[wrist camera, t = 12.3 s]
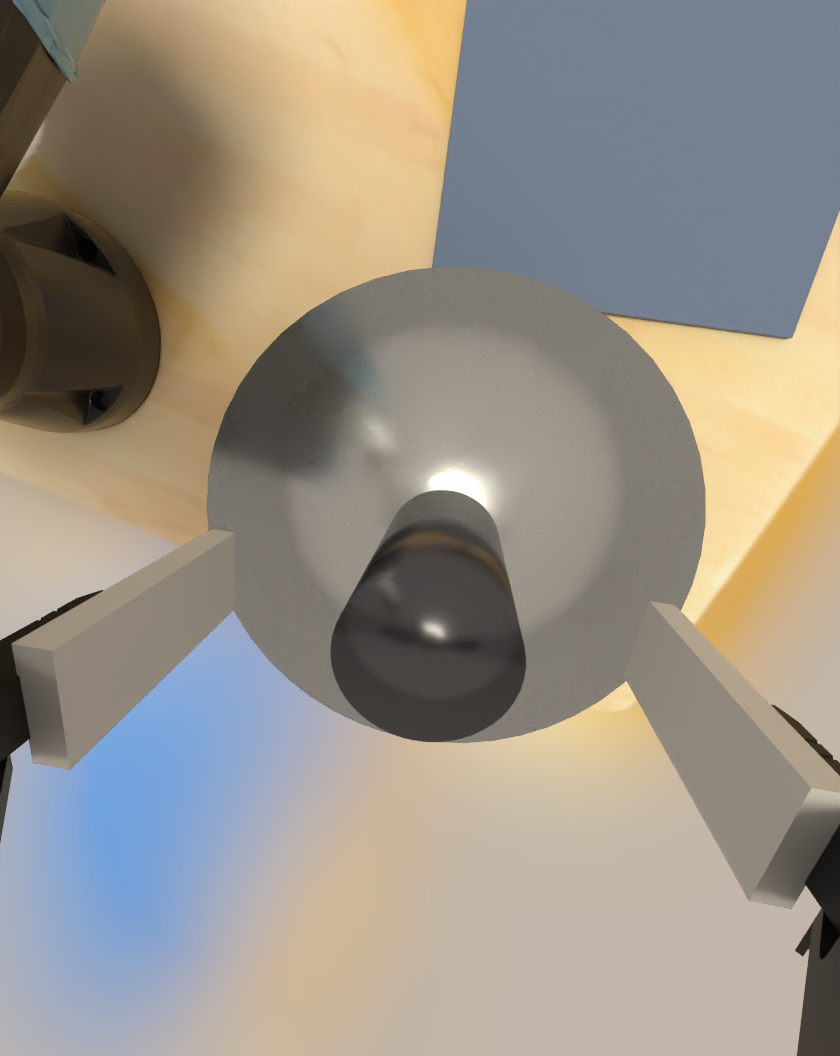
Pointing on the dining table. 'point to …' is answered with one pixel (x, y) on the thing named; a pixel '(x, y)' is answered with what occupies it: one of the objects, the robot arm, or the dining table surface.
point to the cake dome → (456, 503)
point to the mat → (649, 154)
